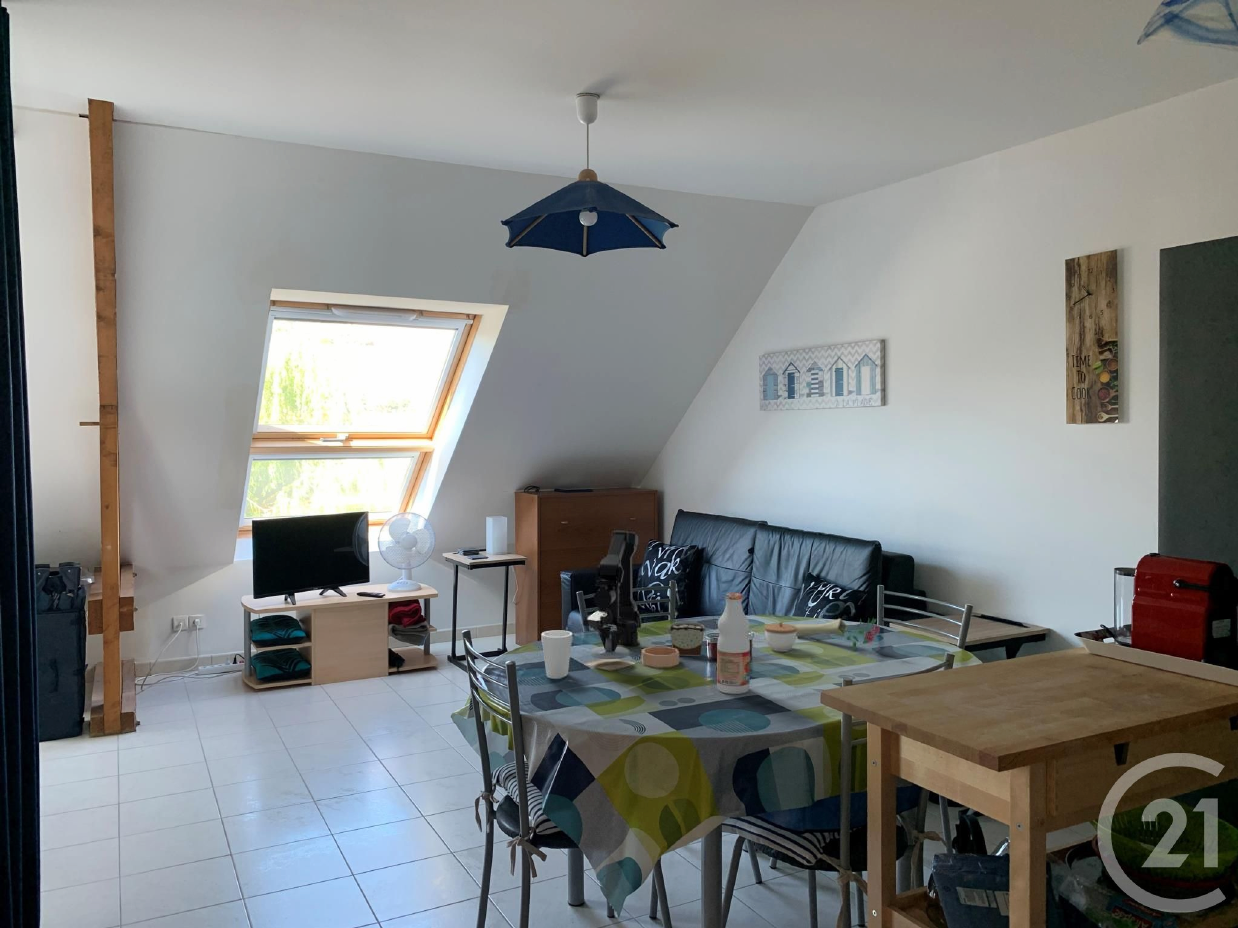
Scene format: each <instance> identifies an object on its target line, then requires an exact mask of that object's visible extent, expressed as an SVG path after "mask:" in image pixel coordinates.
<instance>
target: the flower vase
mask: <svg viewBox="0 0 1238 928" xmlns="http://www.w3.org/2000/svg"><path fill="white" fill-rule="evenodd" d="M876 622H877V618H874V617H872V620H871V621H870V619H868V621H867V624H865V625H864V626H862V628H861V625H862V619H861V618H860V619H859V623H857V624H856V627H857V629H858V630H854V631H853V630H852V629H854V627H852V629H851V630H847V628H848V625H847V624H846V623H845V621H843V619H841V618H838V619H835V620H832V621H829V622H826V623H795V625H794V626H795V627H796V628H797V631H796V638H802V637H808V636H809V637H810V636H815V635H822V634H823V635H824V634H825V635H828V634H829V635H834V636H835V635H836V636H841V637H845V634H846V633H848V634H850V633H851V634H852V633H853V634H859V635H862V636H864V637H863V639H862V641H863V642H862V645H866V644H867V645H868V644H870V643H872V642H873V641H874V640H875V635H877V634H879V633H880V631H881V630H880V627H879V625H877V624H876V625H875V623H876ZM870 625H874V626H873V627H872V629H871V628H870V629H869V627H870ZM865 626H867V627H865ZM864 627H865V628H864ZM863 628H864V629H863ZM851 634H850V635H849V636H846V638H845V640H847V641H851V642H852V652H854V651H855V650H856V648H857V643H859V639H858V637H857V636H856V635H851ZM853 639H854V640H855V641H854V640H853Z"/></svg>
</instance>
